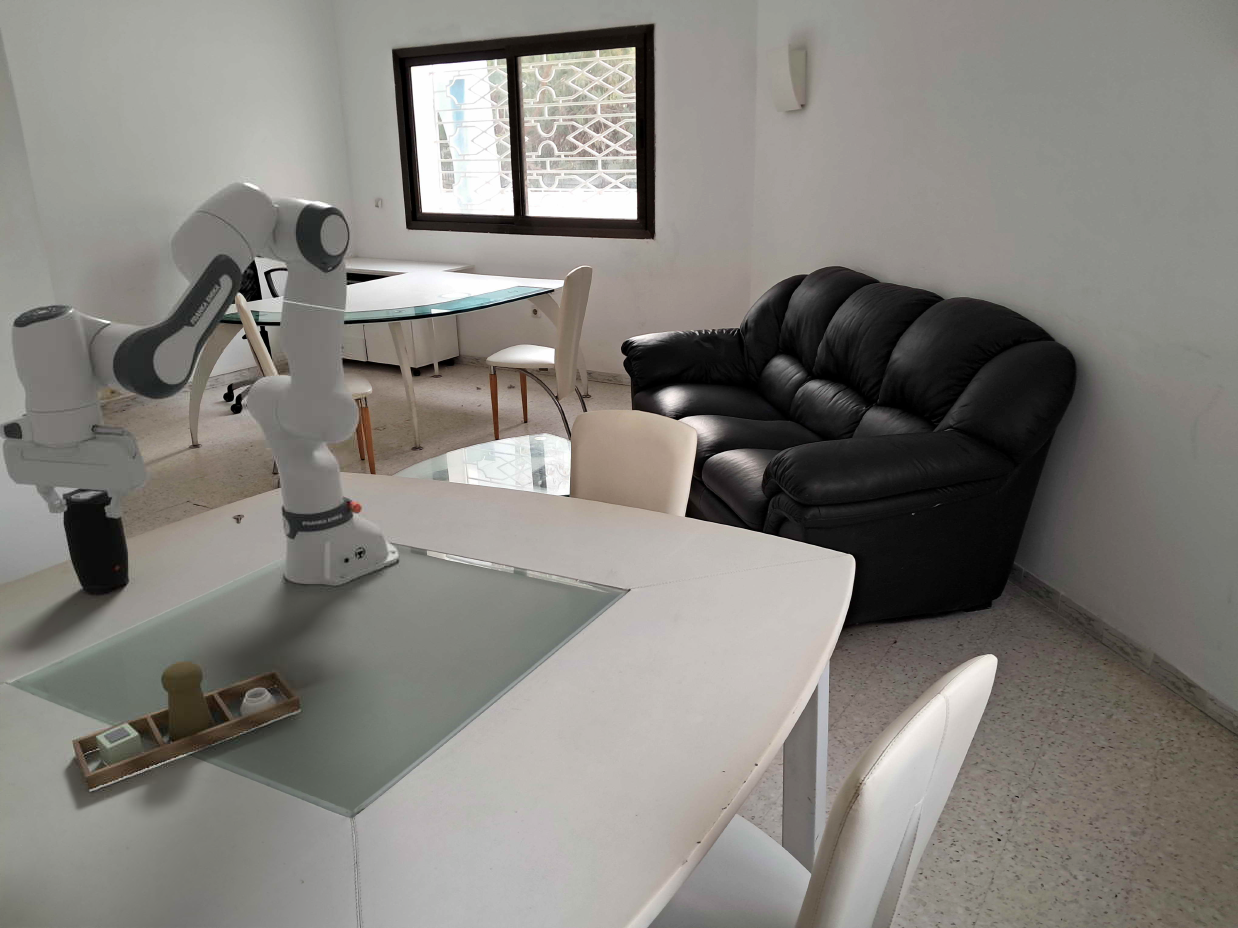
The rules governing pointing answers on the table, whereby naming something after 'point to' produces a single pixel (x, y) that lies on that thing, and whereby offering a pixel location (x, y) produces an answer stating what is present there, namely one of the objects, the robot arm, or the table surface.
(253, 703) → the lidless jar
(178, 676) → the cork
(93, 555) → the portable speaker
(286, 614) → the table surface
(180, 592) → the table surface
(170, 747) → the organiser
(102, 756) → the cube with grey panel
